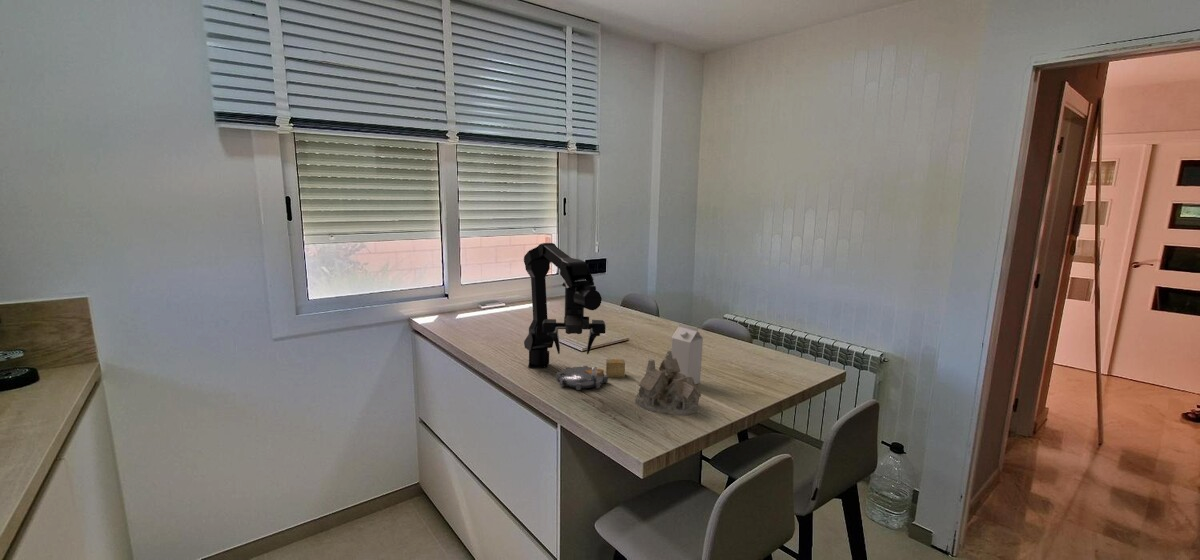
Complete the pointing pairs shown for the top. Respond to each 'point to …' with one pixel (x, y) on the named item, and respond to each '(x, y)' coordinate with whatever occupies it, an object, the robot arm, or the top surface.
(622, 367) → the orange banded block
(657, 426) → the top surface
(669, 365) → the ceramic cottage
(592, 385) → the sprocket
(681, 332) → the milk carton
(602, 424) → the top surface
